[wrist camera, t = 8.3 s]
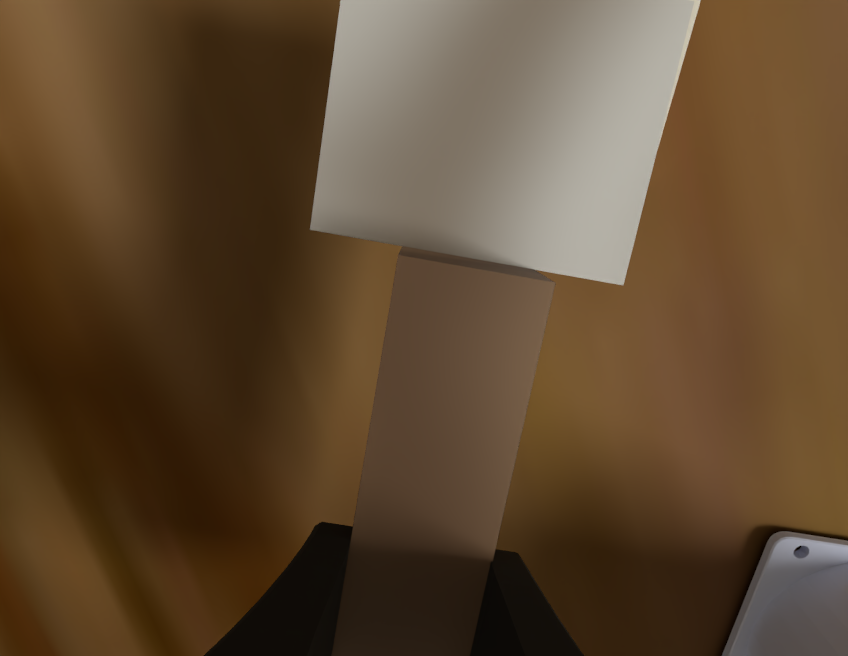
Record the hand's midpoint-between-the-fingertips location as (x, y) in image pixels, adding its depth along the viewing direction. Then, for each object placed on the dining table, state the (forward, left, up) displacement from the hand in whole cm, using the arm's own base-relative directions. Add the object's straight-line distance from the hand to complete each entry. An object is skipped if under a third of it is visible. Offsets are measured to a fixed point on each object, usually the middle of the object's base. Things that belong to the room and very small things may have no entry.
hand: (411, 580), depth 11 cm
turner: (0, -2, -4) cm, 4 cm away
